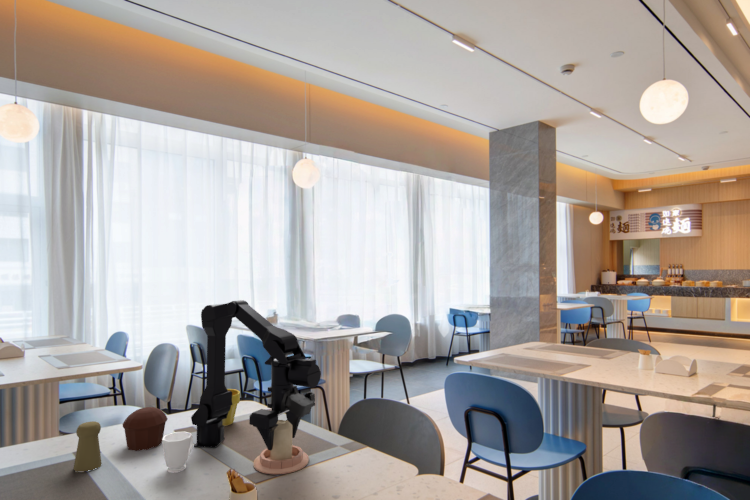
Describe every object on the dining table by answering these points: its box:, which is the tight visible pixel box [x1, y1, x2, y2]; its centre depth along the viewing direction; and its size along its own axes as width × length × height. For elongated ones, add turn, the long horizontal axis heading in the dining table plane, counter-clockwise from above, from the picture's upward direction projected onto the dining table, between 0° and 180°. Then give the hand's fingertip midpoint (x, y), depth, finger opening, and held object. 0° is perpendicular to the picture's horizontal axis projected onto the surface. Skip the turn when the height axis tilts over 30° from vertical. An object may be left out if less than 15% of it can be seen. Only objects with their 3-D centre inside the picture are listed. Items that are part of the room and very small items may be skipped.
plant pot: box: [222, 388, 241, 427], centre depth 145 cm, size 10×10×10 cm
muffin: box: [122, 406, 168, 452], centre depth 127 cm, size 12×11×10 cm
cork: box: [73, 420, 103, 471], centre depth 113 cm, size 6×6×11 cm
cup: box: [161, 430, 194, 474], centre depth 113 cm, size 7×10×8 cm
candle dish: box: [253, 444, 310, 475], centre depth 116 cm, size 14×14×2 cm
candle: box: [271, 419, 293, 460], centre depth 116 cm, size 6×6×10 cm
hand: (281, 443), depth 116 cm, fingers open, 9 cm apart
